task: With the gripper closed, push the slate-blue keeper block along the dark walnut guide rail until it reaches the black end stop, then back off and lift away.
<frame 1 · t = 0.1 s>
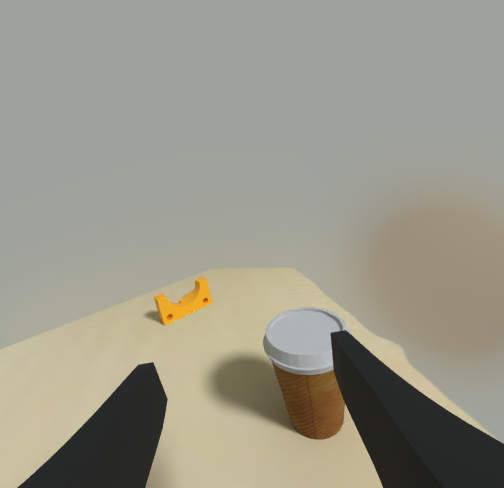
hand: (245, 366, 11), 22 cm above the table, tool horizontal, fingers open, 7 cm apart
pipe clamp: (186, 311, 63), on the table
disposable coffee cup: (316, 415, 32), on the table
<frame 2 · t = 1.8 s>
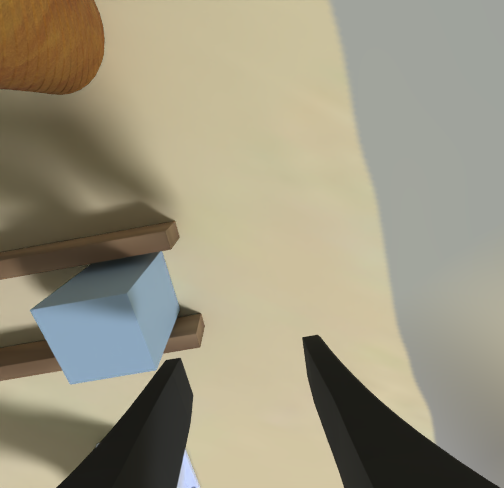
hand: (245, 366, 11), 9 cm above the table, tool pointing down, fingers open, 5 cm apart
guide rail: (35, 304, 20), on the table
keeper: (121, 309, 17), point 3 cm above the table, slide at 0.0 cm
disposable coffee cup: (47, 31, 14), on the table
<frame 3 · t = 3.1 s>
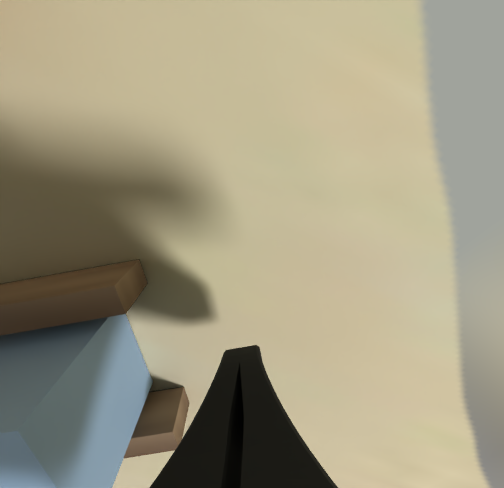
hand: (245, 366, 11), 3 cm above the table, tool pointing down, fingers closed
keeper: (47, 407, 10), point 3 cm above the table, slide at 0.0 cm
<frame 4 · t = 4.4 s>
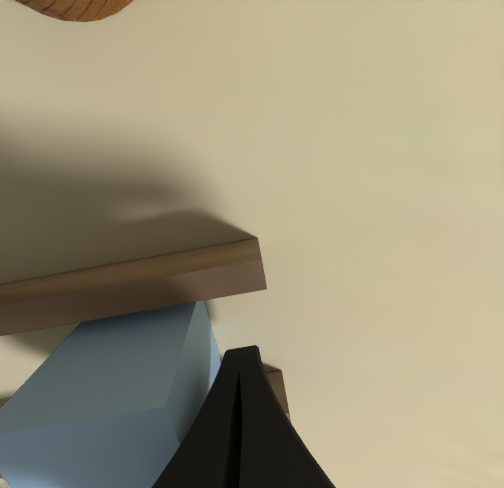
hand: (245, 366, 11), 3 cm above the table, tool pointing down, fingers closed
guide rail: (38, 361, 13), on the table
keeper: (142, 392, 10), point 3 cm above the table, slide at 1.5 cm, touching gripper
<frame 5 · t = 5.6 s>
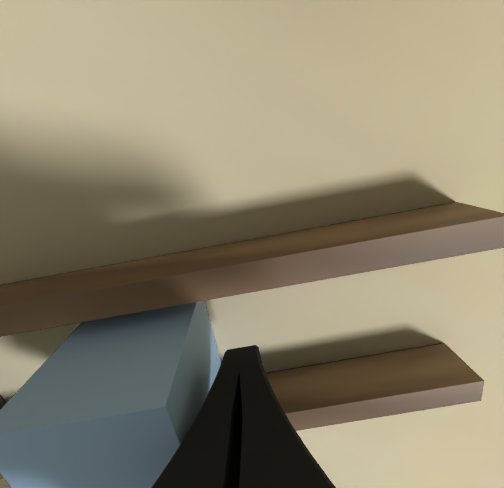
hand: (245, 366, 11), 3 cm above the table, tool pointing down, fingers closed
guide rail: (207, 332, 13), on the table
keeper: (142, 392, 10), point 3 cm above the table, slide at 10.2 cm, touching gripper
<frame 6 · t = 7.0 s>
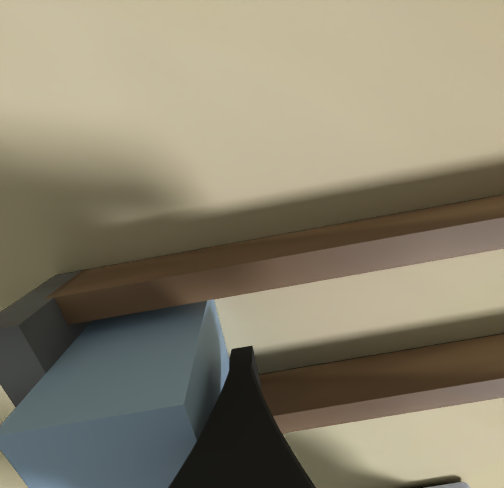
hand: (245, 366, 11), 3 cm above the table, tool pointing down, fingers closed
guide rail: (353, 307, 13), on the table
keeper: (153, 390, 10), point 3 cm above the table, slide at 17.1 cm, touching gripper, guide rail
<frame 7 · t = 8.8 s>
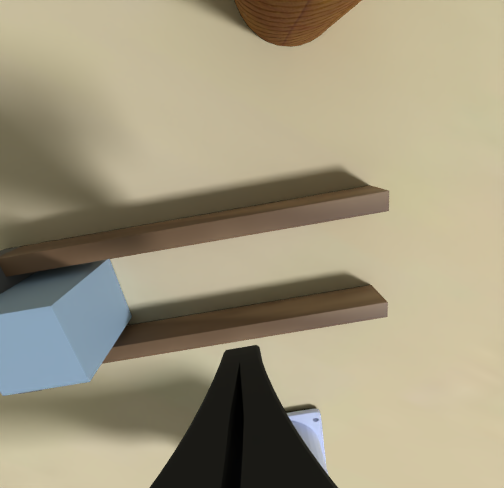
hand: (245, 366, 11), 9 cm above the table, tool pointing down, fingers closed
guide rail: (207, 273, 19), on the table
keeper: (62, 318, 17), point 3 cm above the table, slide at 17.0 cm
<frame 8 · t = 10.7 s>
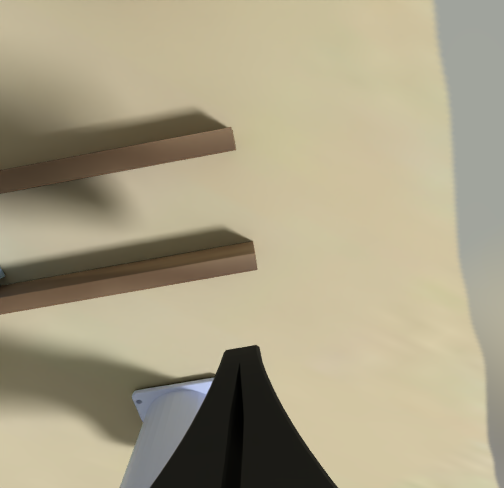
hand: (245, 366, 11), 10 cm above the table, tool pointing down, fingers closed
guide rail: (77, 228, 18), on the table
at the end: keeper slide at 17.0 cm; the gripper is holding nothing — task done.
